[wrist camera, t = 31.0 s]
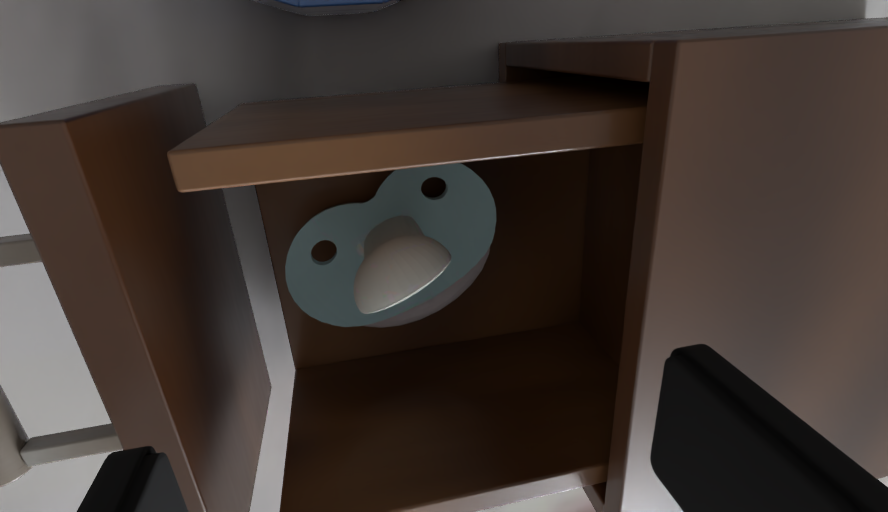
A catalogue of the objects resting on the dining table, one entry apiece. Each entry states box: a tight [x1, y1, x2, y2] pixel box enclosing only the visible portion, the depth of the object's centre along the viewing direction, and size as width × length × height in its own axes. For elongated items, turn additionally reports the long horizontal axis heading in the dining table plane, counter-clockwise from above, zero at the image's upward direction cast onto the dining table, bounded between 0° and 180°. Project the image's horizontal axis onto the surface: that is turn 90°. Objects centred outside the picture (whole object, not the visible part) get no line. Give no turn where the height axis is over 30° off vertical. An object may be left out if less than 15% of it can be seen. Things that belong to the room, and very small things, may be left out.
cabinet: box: [499, 17, 888, 512], centre depth 18 cm, size 17×14×11 cm
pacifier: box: [285, 163, 496, 328], centre depth 16 cm, size 7×6×6 cm
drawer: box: [0, 75, 650, 512], centre depth 15 cm, size 21×12×9 cm, turn 93°
